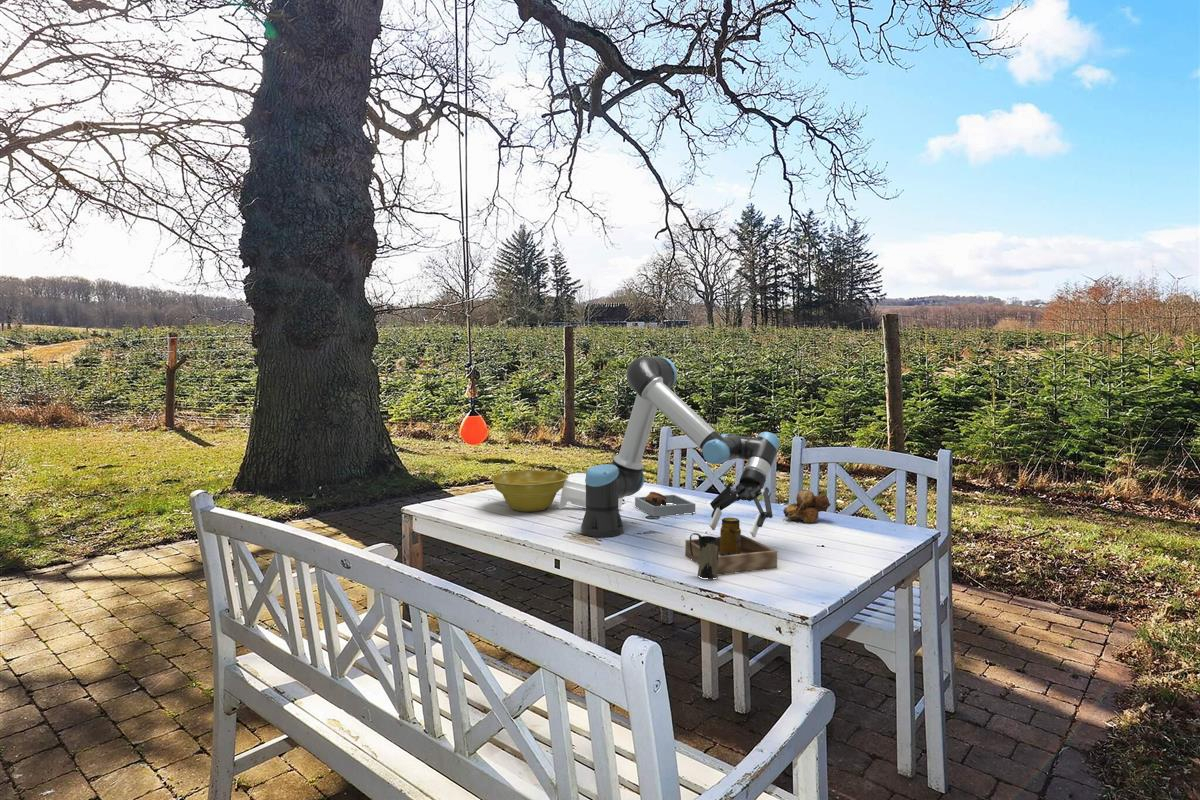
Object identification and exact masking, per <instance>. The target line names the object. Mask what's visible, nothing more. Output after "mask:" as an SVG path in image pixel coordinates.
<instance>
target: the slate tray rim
mask: <svg viewBox="0 0 1200 800" xmlns="http://www.w3.org/2000/svg"><path fill="white" fill-rule="evenodd" d="M664 496H665V497H666V503H674V504H676V505H666V506H664V505H660V506H653V505H651V504H649V503H647V502H645V498H646V496H639V497H638V496H637V497H636V496H635V497H634V507H635V506H636V507H638V508H639V509H638V508H637V509H638V510H640V509H641V510H643V511H645V512H647V513H648V514H647V513H646V514H647V515H649V514H650V515H652V516H663V517H665V516H664V515H675V516H677V515H676V514H684V513H693V512H695V513H696V503H694V502H693V501H690V500H688V499H686V498H684V497H681V496H679V495H676V494H666V495H665V494H664ZM636 507H635V508H636ZM641 510H640V511H641ZM643 511H642V512H643ZM645 512H644V513H645ZM650 515H649V516H650ZM652 516H651V517H652Z"/></svg>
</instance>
